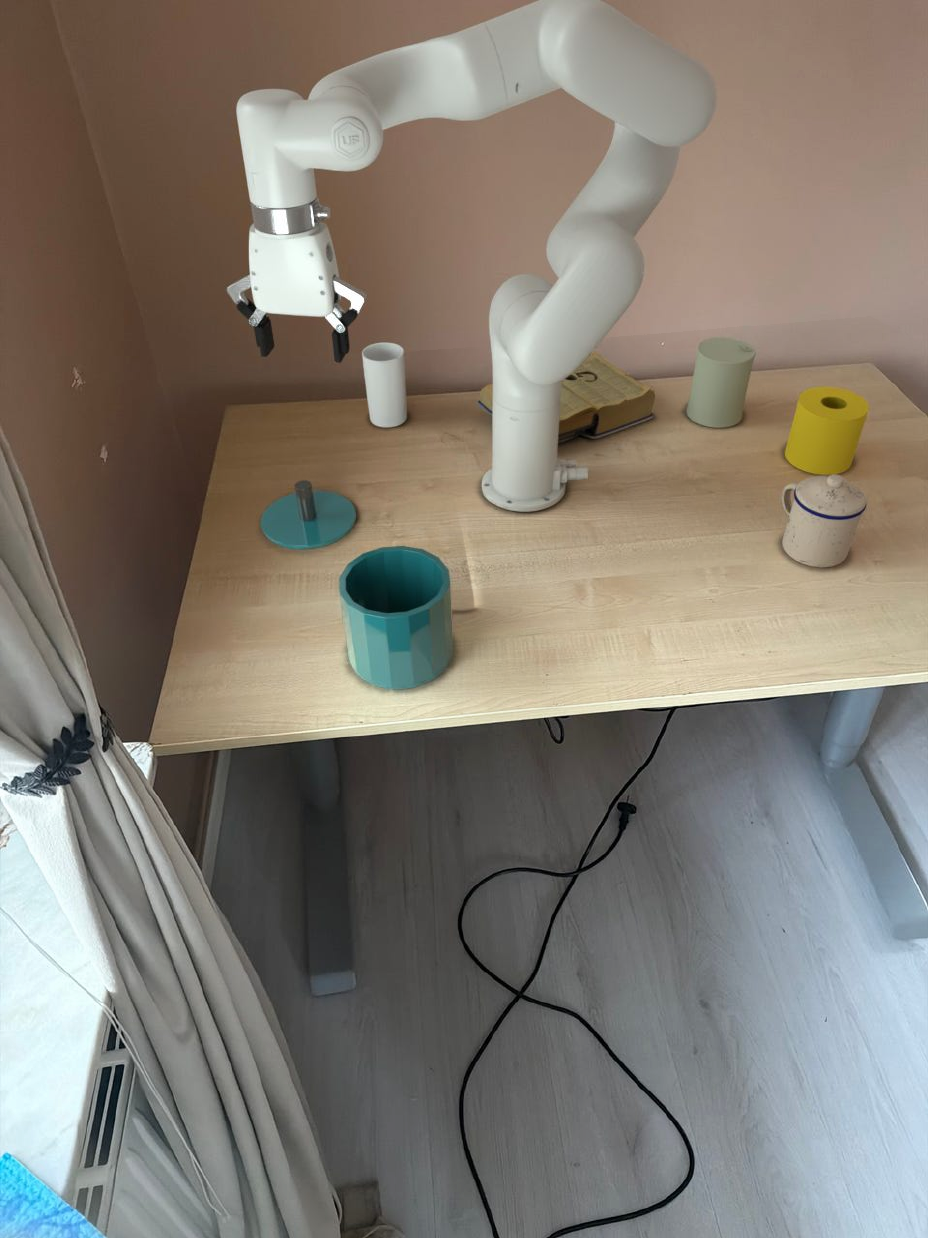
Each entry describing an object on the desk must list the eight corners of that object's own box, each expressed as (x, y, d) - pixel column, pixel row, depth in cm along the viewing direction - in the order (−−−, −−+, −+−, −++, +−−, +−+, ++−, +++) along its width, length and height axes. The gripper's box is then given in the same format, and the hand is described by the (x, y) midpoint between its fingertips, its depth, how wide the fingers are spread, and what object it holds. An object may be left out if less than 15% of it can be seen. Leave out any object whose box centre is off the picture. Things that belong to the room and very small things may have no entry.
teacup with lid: (863, 557, 122) (889, 485, 114) (812, 577, 119) (835, 505, 111) (800, 511, 130) (820, 441, 122) (751, 530, 127) (769, 459, 119)
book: (595, 378, 160) (598, 347, 156) (655, 418, 150) (659, 386, 146) (476, 416, 151) (475, 384, 147) (530, 462, 141) (531, 428, 137)
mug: (413, 423, 150) (409, 356, 142) (375, 432, 148) (368, 364, 140) (395, 396, 157) (390, 331, 149) (358, 404, 155) (351, 338, 147)
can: (747, 427, 147) (762, 359, 139) (691, 428, 147) (703, 360, 139) (735, 399, 154) (749, 333, 146) (682, 400, 154) (692, 334, 146)
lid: (356, 493, 135) (351, 455, 131) (356, 548, 125) (352, 509, 121) (265, 499, 134) (257, 461, 130) (258, 556, 124) (250, 516, 120)
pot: (447, 613, 115) (445, 542, 107) (456, 685, 106) (454, 612, 98) (349, 621, 114) (339, 550, 106) (349, 693, 105) (338, 621, 97)
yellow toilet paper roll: (814, 481, 135) (830, 425, 129) (771, 449, 142) (784, 395, 136) (865, 465, 138) (883, 410, 132) (821, 434, 145) (836, 381, 139)
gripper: (367, 208, 104) (377, 346, 116) (226, 200, 107) (249, 337, 118) (350, 230, 99) (362, 373, 110) (201, 222, 101) (229, 363, 113)
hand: (304, 354), depth 114 cm, fingers open, 9 cm apart
